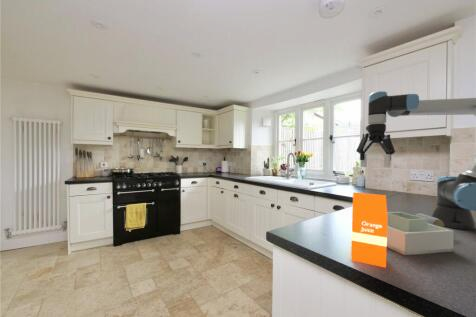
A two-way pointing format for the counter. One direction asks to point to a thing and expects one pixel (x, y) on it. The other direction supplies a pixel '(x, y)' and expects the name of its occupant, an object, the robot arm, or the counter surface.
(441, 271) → the counter surface
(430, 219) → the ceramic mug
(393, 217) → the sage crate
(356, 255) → the orange juice
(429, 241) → the grey crate
